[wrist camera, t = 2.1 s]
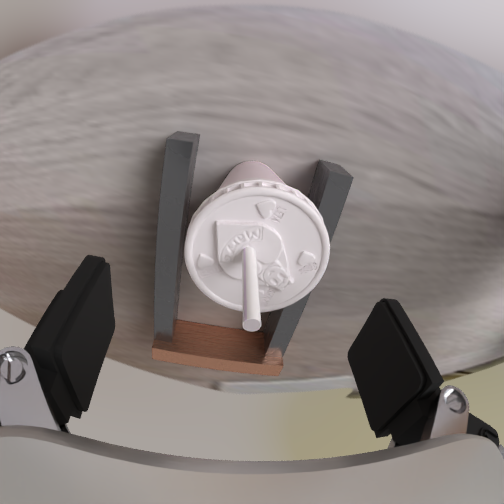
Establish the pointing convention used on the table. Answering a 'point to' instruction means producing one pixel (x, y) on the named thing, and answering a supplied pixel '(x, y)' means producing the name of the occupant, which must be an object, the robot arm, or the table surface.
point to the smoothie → (256, 244)
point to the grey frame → (170, 263)
